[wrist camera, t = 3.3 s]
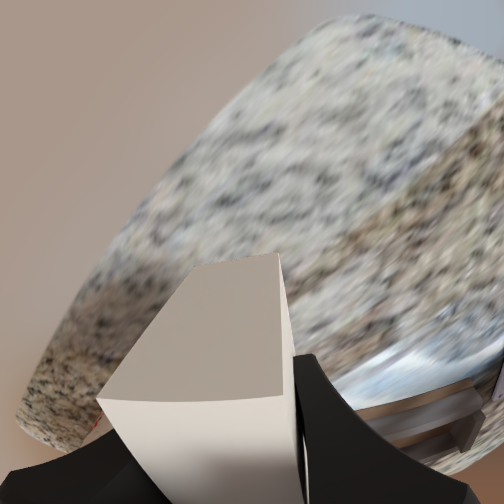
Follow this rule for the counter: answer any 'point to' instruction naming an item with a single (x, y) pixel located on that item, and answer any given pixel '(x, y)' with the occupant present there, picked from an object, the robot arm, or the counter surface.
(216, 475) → the beige rectangular block
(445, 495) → the robot arm
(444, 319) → the counter surface
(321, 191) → the counter surface
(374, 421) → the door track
